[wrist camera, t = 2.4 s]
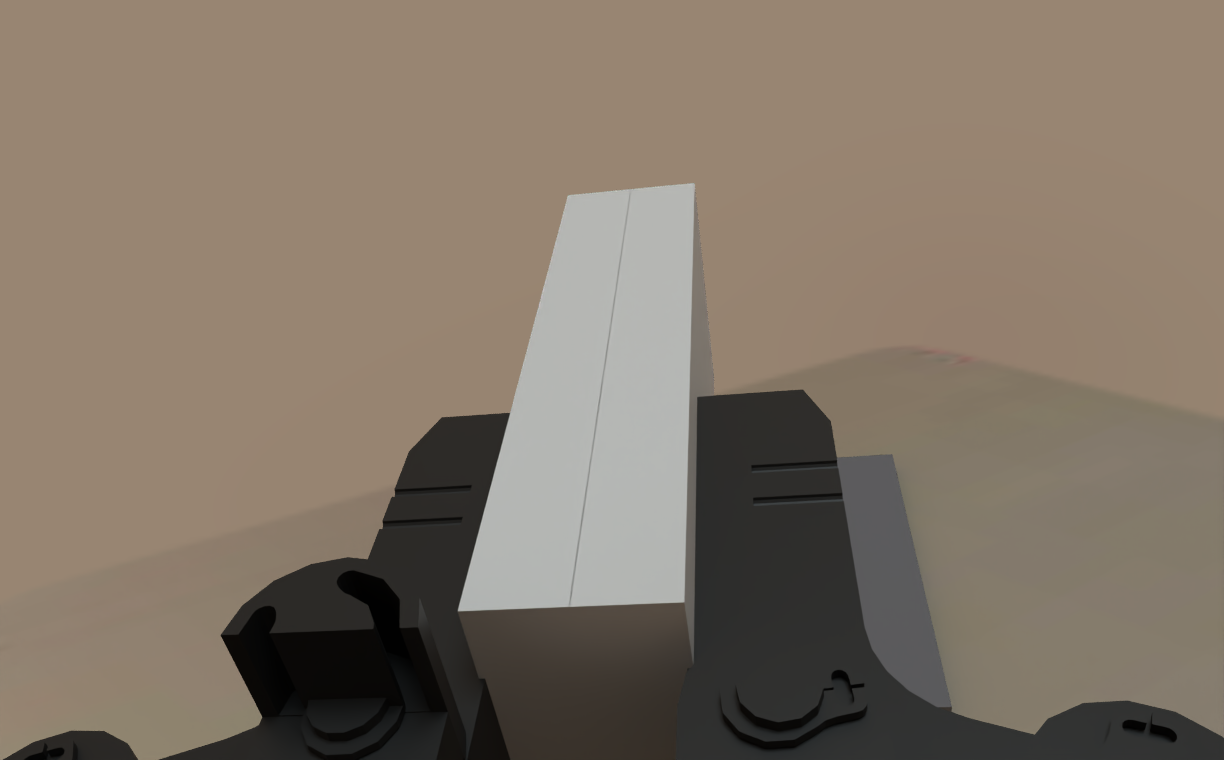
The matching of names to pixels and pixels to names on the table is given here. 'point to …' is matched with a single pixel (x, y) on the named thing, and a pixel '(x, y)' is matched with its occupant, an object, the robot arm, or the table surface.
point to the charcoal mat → (890, 577)
